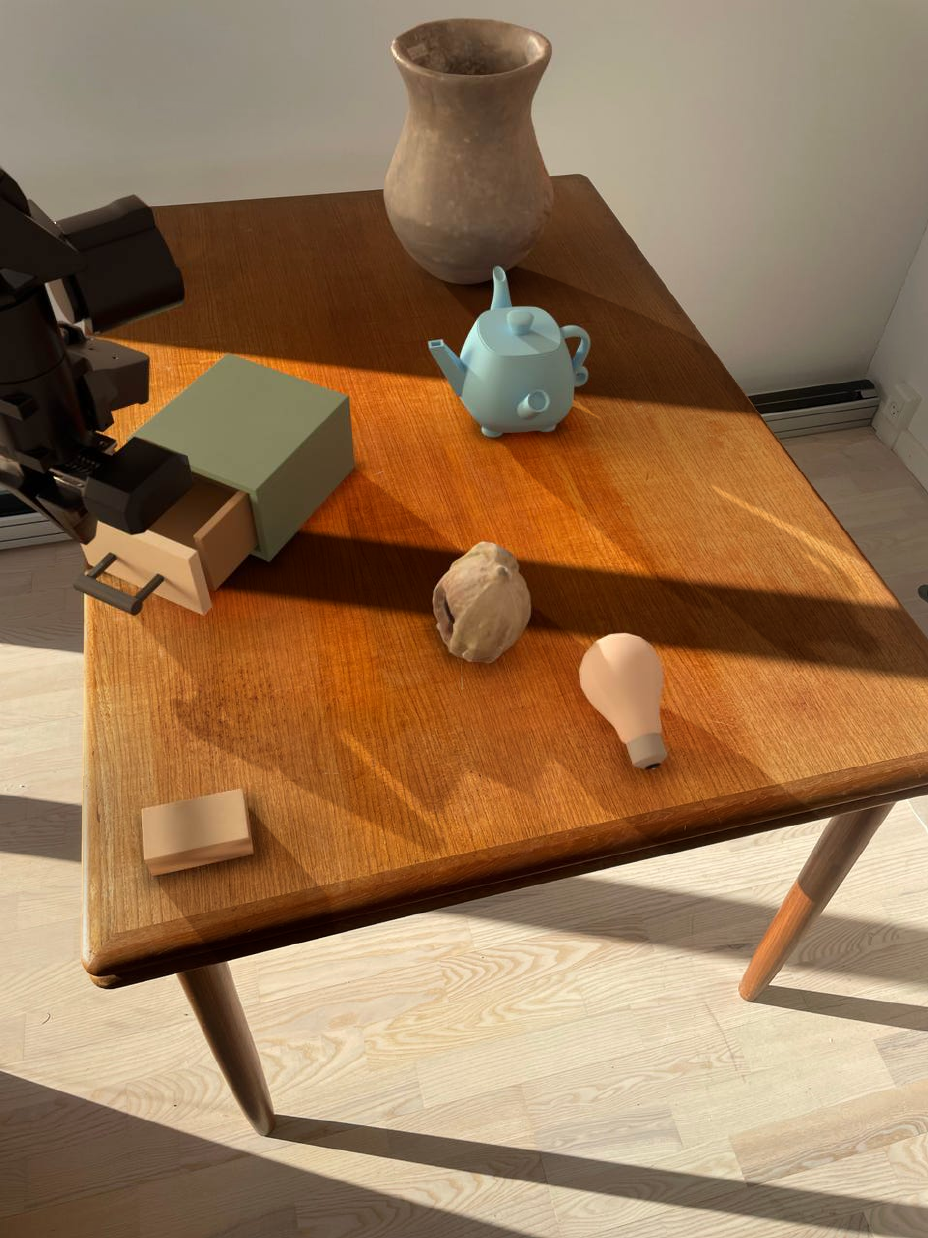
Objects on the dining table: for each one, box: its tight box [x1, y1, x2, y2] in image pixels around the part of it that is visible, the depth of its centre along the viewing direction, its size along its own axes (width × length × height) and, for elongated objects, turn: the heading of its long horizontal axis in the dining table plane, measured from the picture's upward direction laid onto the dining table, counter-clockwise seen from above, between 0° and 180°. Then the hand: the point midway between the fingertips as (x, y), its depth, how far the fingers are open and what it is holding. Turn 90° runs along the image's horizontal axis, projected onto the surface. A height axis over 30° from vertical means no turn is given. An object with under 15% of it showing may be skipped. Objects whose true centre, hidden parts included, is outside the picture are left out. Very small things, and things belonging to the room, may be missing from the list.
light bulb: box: [578, 632, 669, 771], centre depth 74 cm, size 7×7×11 cm
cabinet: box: [126, 352, 356, 563], centre depth 89 cm, size 15×14×9 cm
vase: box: [383, 17, 555, 285], centre depth 109 cm, size 20×19×25 cm
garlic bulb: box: [432, 541, 532, 664], centre depth 78 cm, size 9×8×10 cm
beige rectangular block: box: [141, 788, 255, 877], centre depth 68 cm, size 7×4×2 cm, turn 105°
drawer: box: [72, 471, 259, 617], centre depth 83 cm, size 18×12×7 cm
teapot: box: [427, 266, 591, 438], centre depth 97 cm, size 15×14×11 cm
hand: (87, 539), depth 70 cm, fingers closed
